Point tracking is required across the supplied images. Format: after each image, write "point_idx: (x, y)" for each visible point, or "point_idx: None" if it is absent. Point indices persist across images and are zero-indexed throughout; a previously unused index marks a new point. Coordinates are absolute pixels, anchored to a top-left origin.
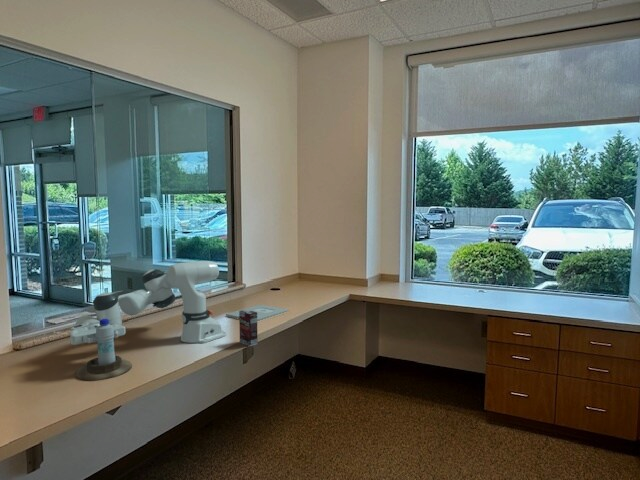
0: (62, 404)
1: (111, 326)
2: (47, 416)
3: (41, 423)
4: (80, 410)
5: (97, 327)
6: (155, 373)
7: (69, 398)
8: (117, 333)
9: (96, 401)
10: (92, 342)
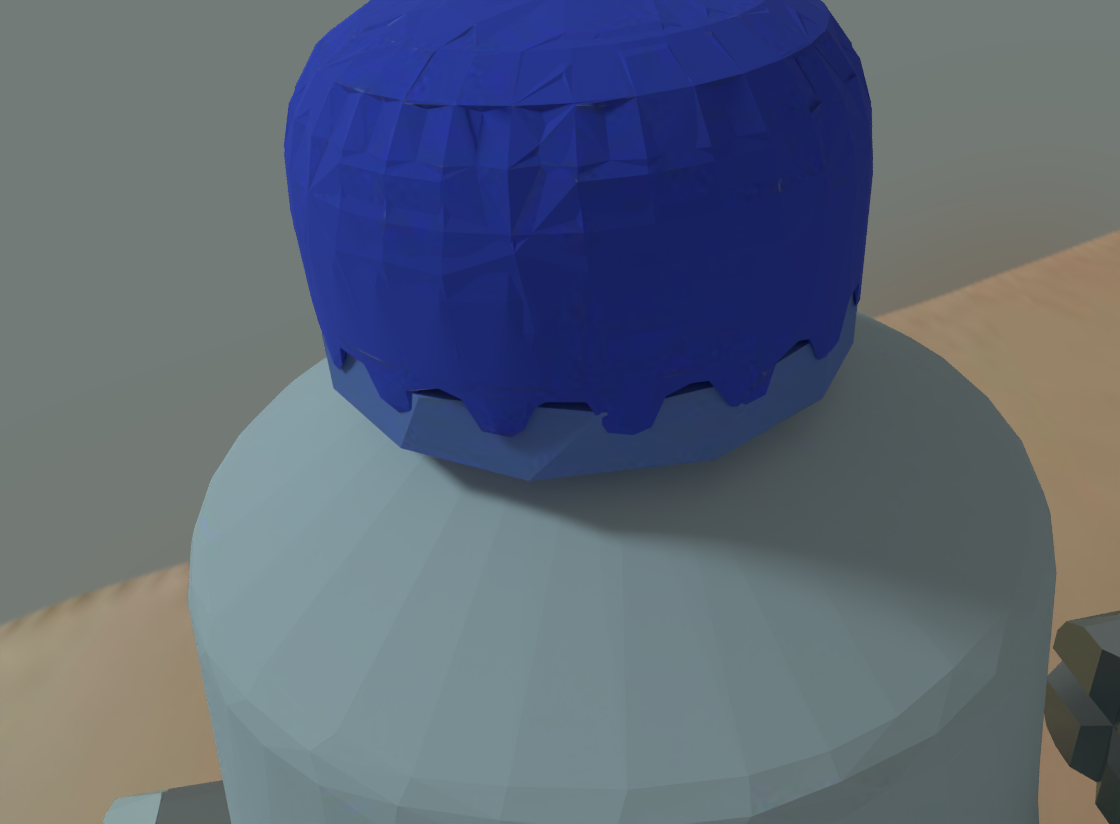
0: (1066, 415)
1: (318, 365)
2: (1105, 317)
3: (1102, 272)
4: (880, 319)
5: (973, 417)
6: (116, 678)
7: (1045, 484)
8: (134, 798)
9: None
10: (1062, 727)
